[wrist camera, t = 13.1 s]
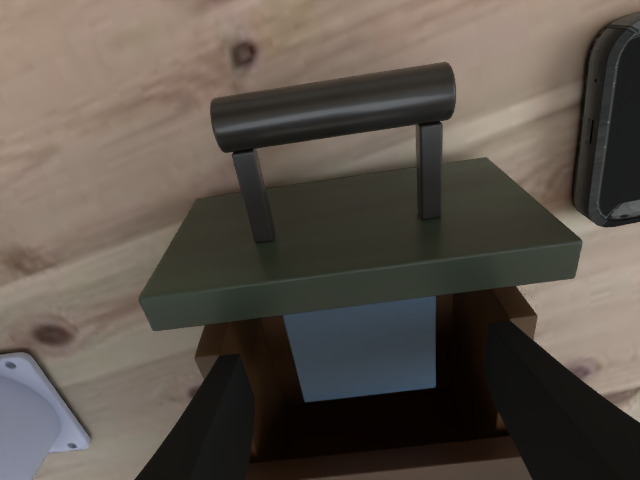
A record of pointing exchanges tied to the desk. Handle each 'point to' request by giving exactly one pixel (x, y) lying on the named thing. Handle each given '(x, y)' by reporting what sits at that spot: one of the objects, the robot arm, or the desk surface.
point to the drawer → (357, 261)
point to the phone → (611, 128)
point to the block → (364, 349)
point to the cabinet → (405, 463)
